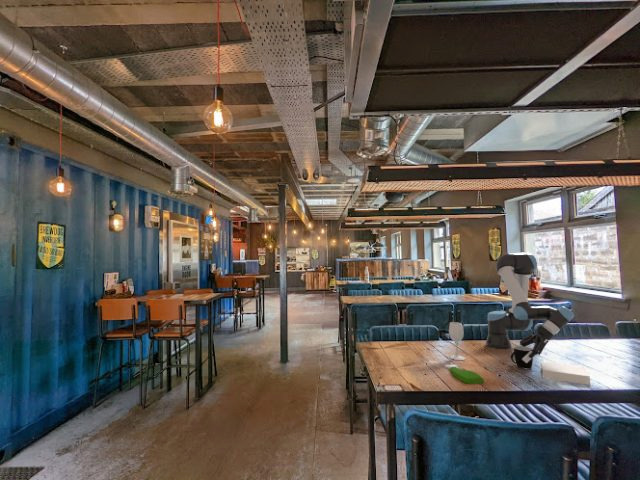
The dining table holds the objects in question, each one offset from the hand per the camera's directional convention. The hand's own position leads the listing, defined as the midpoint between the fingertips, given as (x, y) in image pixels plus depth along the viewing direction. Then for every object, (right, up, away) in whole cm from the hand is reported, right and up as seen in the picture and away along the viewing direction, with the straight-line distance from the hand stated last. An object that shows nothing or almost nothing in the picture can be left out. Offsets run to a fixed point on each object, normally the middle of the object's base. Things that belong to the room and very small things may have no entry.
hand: (518, 357), depth 174 cm
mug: (+1, -5, 0) cm, 6 cm away
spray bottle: (-36, -6, -10) cm, 38 cm away
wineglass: (-27, -7, +17) cm, 32 cm away
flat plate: (+14, -4, -15) cm, 20 cm away
